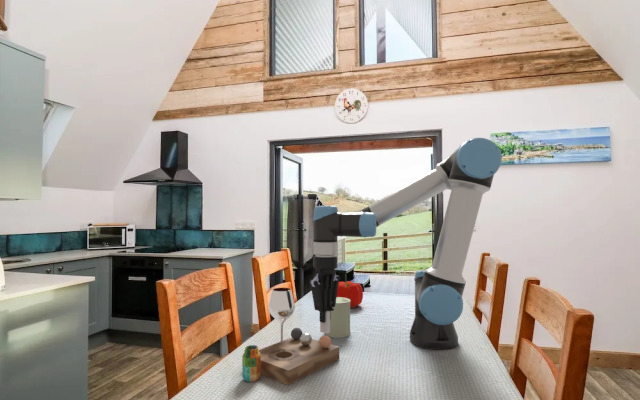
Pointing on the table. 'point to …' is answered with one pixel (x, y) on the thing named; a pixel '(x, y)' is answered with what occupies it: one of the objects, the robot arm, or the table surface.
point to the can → (340, 318)
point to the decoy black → (296, 333)
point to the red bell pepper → (350, 292)
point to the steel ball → (305, 339)
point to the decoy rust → (325, 341)
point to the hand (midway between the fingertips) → (325, 332)
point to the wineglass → (281, 306)
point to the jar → (251, 363)
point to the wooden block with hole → (295, 359)
